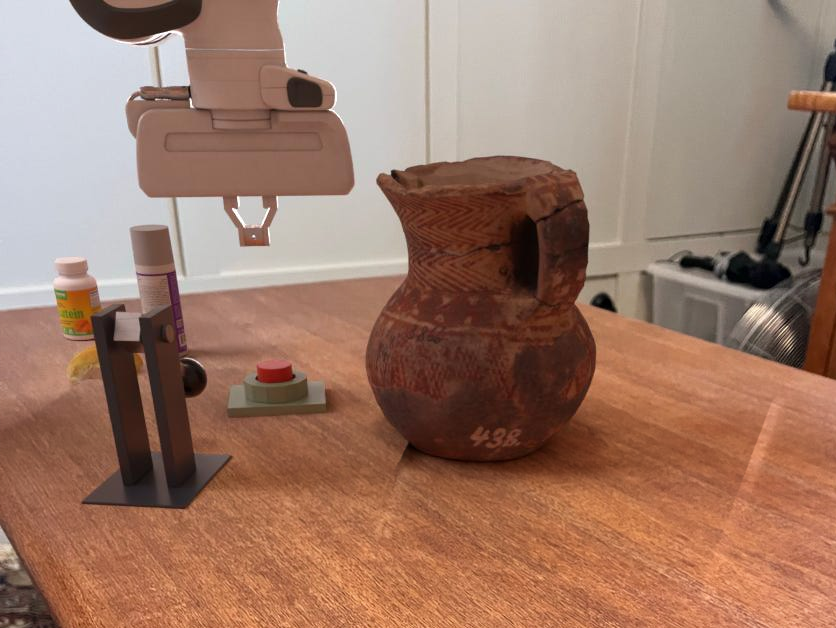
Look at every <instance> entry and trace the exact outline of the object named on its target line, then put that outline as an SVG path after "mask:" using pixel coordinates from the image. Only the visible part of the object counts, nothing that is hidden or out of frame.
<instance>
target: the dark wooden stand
mask: <svg viewBox="0 0 836 628" xmlns="http://www.w3.org/2000/svg"><path fill="white" fill-rule="evenodd" d="M126 310H127V309H126V304H125V303H112V304H110V305H108V306H106V307H104V308H103V309H102V310H101V311H99V312H97V313H95V314H93V315H92V316H90V318H91V324H92V329H93V334H94V339H93V340H94V343H95V344H94V345H96V349H97V354H98V359H99V364H100V369H101V375H102V379H101V380H102V385H103V389H104V395H105V400H106V404H107V405H106V406H107V410H108V415H109V420H110V426H111V430H112V435H113V440H114V446H115V451H116V457H117V461H118V466H119V467H118V469H117V470H115V472H112V474H111V475H110V476H109V477H107V478H106V479H105V480H104V481H102V483H101V484H99V486H97V487H96V488H95V489H94V490H93V491H91V492H90V493H89V494H88V495H87V496H86V497H85V498H84V499H82V501H81V505H91V506H92V505H93V506H97V505H98V506H111V507H112V506H113V507H129V508H130V507H134V508H152V509H170V510H171V509H172V510H174V509H175V510H186V509H187V508H188V506H190V504H191V503H192V502H193V501H194V500H195V499H196V498H197V497H198V496H199V494H200V493H201V492H202V491H203V490H204V489H205V488H206V487H207V486H208V485H209V484H210V483H211V481H213V479H214V478H215V477H216V476H217V475H218V474H219V472H220V471H221V470H223V469H224V467H225V466H226V465H227V464H228V463H229V462H230V460H231V459H232V458H233V455H232V454H223V453H222V454H221V453H202V452H201V453H199V452H195V450H194V445H193V443H194V442H193V438H192V431H191V425H190V418H189V412H188V405H187V398H185V392H184V385H183V379H182V372H181V366H180V359H181V358H180V357H179V353H178V346H177V340H176V333H175V327H174V321H173V314H172V308H171V305H159V306H157V307H155V308H154V309H152V310H150V311H149V312H147V313H145V314H144V315H142V316H140V317H139V324H140V330H141V336H142V341H143V347H144V353H143V354H144V358H145V359H144V360H145V364H146V370H147V376H148V381H149V387H150V394H151V399H152V404H153V405H152V406H153V411H154V417H155V421H156V428H157V434H158V439H159V446H160V451H156V450H155V451H153V450H151V445H150V439H149V433H148V428H147V427H148V426H147V423H146V418H145V417H146V416H145V412H144V411H145V410H144V405H143V400H142V395H141V394H142V393H141V389H140V382H139V377H138V372H137V371H136V365H135V360H134V354H133V353H128V352H127V351H126V350H125V349H124V348H122V347H121V346H120V345H119V344H117V343H116V342H115V341H114V330H115V319H116V312H127V311H126Z"/></svg>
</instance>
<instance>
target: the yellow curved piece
mask: <svg viewBox="0 0 836 628" xmlns="http://www.w3.org/2000/svg"><path fill="white" fill-rule="evenodd" d="M133 354H134V360H135V365H136V371H137V373H138V372H139V370H140V367H141V366H144V361H143V359H142V357H141V355H140V354H139V353H133ZM66 377H67V379H68V381H69V382H70V383H71V384H72V385H74V386H78V385H79V384H81V383H82V382H84V381H85V380H91V379H92V380H102V375H101V369H100V364H99V359H98V354H97V349H96V344H93V345H92V346H89V347H87V348H85V349H83V350H81V351H79V352H77V353H76V354H75V356H73V358H72V359H71V361H70V362H69V363H68V365H67V367H66Z"/></svg>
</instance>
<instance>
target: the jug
mask: <svg viewBox="0 0 836 628" xmlns="http://www.w3.org/2000/svg"><path fill="white" fill-rule="evenodd" d="M375 182H376V185H377V186H378V188H379V189H380V190H381V192H382V194H383V195H384V196H385V198H386V200H387V201H388V202H389V204H390V205H391V207H392V208H393V210H394V213H395V214H396V216H397V217H398V220H399V222H400V224H401V228H402V232H403V234H404V239H405V242H406V243H405V244H406V246H407V247H406V249H407V259H408V260H407V264H408V265H407V267H408V268H407V269H408V270H407V276H406V277H405V279H404V280H403V281H402V282H401V284H400V285H399V287H397V289H396V290H395V291H394V292H393V293H392V295H391V296H390V297H389V299H388V300H387V302H386V303H385V305H384V306H383V307H382V310H381V311H380V313H379V314H378V316H377V317H376V320H375V322H374V324H373V326H372V329H371V331H370V334H369V337H368V341H367V345H366V350H365V355H364V356H365V357H364V358H365V359H364V362H365V365H364V366H365V371H366V377H367V381H368V384H369V387H370V389H371V391H372V394H373V397H374V398H375V401H376V403H377V405H378V407H379V409H380V411H381V412H382V414H383V416H384V418H385V419H386V420H387V422H389V424H390V425H391V426H392V428H394V429H395V430H396V431H397V432H398V433H399V434H400V435H401V436H402V437H403V438H404V439H405V440H407V442H408V443H409V444H410V445H411V446H412V447H413V448H414V449H415V450H418V451H419V452H420V453H424V454H426V455H431V456H435V457H440V458H443V459H450V460H456V461H467V462H478V463H479V462H482V463H484V462H485V463H489V462H490V463H491V462H500V461H509V460H514V459H518V458H521V457H525V456H527V455H530V454H531V453H533V452H536V451H537V450H539V448H541V447H543V446H544V445H545V444H546V443H548V442H549V441H550V440H551V439H553V438H554V437H555V436H556V435H557V434H558V433H559V432H560V431H561V430H562V429H563V428H564V427H566V425H568V423H569V422H570V421H571V420H572V418H574V416H575V415H576V413H577V411H578V410H580V409H579V408H580V407H581V406H582V404H583V401H584V400H585V398H586V396H587V394H588V392H589V389H590V387H591V386H592V385H591V384H592V382H593V379H594V376H595V372H596V365H597V344H596V341H595V337H594V335H593V334H592V333H593V332H592V331H591V328H590V326H589V323H588V322H587V320H586V318H585V317H584V315H583V314H582V312H581V310H580V309H579V307H578V306H577V305H576V304H575V303H576V301H577V300H578V298H579V296H580V294H581V292H582V290H583V289H584V287H585V284H586V280H587V268H588V265H589V248H590V247H589V245H590V231H591V230H590V228H591V225H590V220H589V210H588V208H587V205H586V202H585V200H584V199H585V194H584V190H583V188H582V185H581V182H580V179H579V177H578V173H577V172H576V171H575V170H573V169H571V168H569V169H564V168H562V167H560V166H558V165H556V164H553V163H552V162H551V161H550V160H544V159H540V158H534V157H527V156H519V155H501V154H500V155H499V154H497V155H491V156H481V157H471V158H468V159H465V160H462V161H460V160H459V161H452V162H450V161H447V160H445V161H438V162H431V163H427V164H418V165H413V166H409V167H406V168H405V169H404V170H400V169H391V170H390V174H387V173H385V172H380V173H379V174H378V175H377V177H376V179H375Z"/></svg>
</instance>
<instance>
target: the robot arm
mask: <svg viewBox="0 0 836 628" xmlns="http://www.w3.org/2000/svg"><path fill="white" fill-rule="evenodd" d="M68 1H69V3H70V5H71V7H72V8H73V9H74V11H75V12H76V14H77V15H78V16H79V17H80V18H81V19H82V21H83V22H85V23H86V24H87V25H88V26H89V27H90V28H92V30H94V31H96V33H98V34H100V35H102V36H104V37H105V38H108V39H110V40H112V41H115V42H119V43H122V44H124V45H127V46H129V47H133V48H140V49H149V48H151V49H152V48H155V47H159V46H162V45H165V44H167V43H168V42H170V41H171V40H172V39H174V38H175V37H176V36H177V35H179V36H180V37H181V38H182V39H183V42H184V50H185V57H186V58H185V59H186V67H187V73H188V83H189V85H170V86H163V87H162V86H160V87H159V86H154V85H144V86H141V87H140V86H139V88H138V89H139V90H137V91H135V92H133V93H131V94H130V95H129V97H127V100H126V102H125V107H124V108H125V109H124V110H125V116H126V123H127V128H128V130H129V133H130V134H131V136H132V137H133V138H134V139H135V148H136V149H135V157H136V172H137V182H138V183H137V184H138V187H139V189H140V190H141V191H142V192H143V193H144V194H145V195H146V196H147V197H148V198H151V199H152V198H153V199H155V198H159V199H160V198H161V199H162V198H163V199H164V198H165V199H166V198H167V199H168V198H169V199H171V198H222V203H223V211H224V212H225V213H226V214H227V217H229V219H230V220H231V223H233V225H234V227H235V228H236V229H237V234H238V243H239V247H243V248H245V247H270V246H271V238H270V227H271V225H272V222H273V220H274V218H275V216H276V214H277V212H278V209H279V202H278V197H309V196H310V197H311V196H312V197H316V196H317V197H319V196H320V197H321V196H324V197H325V196H348V195H349V194H350V193H351V192H352V191H353V189H354V188H355V186H356V185H355V182H356V181H355V171H354V162H353V156H352V150H351V144H350V141H349V136H348V135H349V134H348V131H347V129H346V125H345V124H344V122H343V121H344V120H342V118H341V116H340V115H339V114H338V113H337V112H336V111H335V110H333V108H334V107H335V106H336V103H337V90H336V89H337V88H336V86H335V85H334V84H333V83H332V82H331V81H329V80H327V79H324V78H321V77H318V76H315V75H312V74H309V72H308V71H306V70H304V69H300V68H298V69H295V68H292V67H289V66H288V63H287V58H286V50H285V49H286V46H285V41H284V38H283V36H282V32H281V28H280V23H279V5H280V0H68ZM138 97H140V99H137V98H138ZM241 197H245V198H246V197H261V200H262V208H263V209H264V210H265V209H267V211H266V214H265V216H264V219H263V220H262V223H261V224H246V223H245V222H244V220H243V218H242V217H241V215H240V214H239V212H238V211H237V210H238V209H239V208H240V205H241V204H240V198H241Z"/></svg>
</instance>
